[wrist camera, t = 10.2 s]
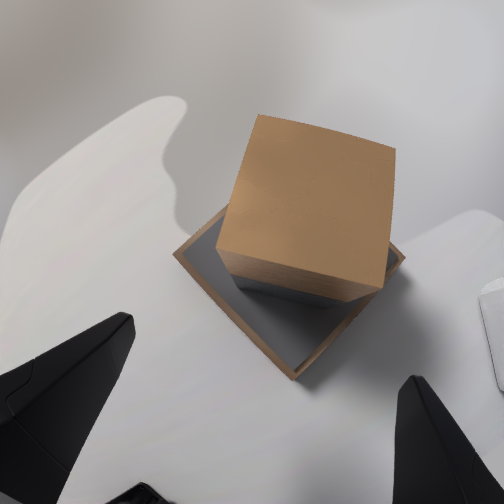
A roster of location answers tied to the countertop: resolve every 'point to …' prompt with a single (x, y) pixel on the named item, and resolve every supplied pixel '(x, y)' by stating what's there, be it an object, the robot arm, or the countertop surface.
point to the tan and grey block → (309, 214)
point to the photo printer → (495, 323)
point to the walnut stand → (271, 305)
